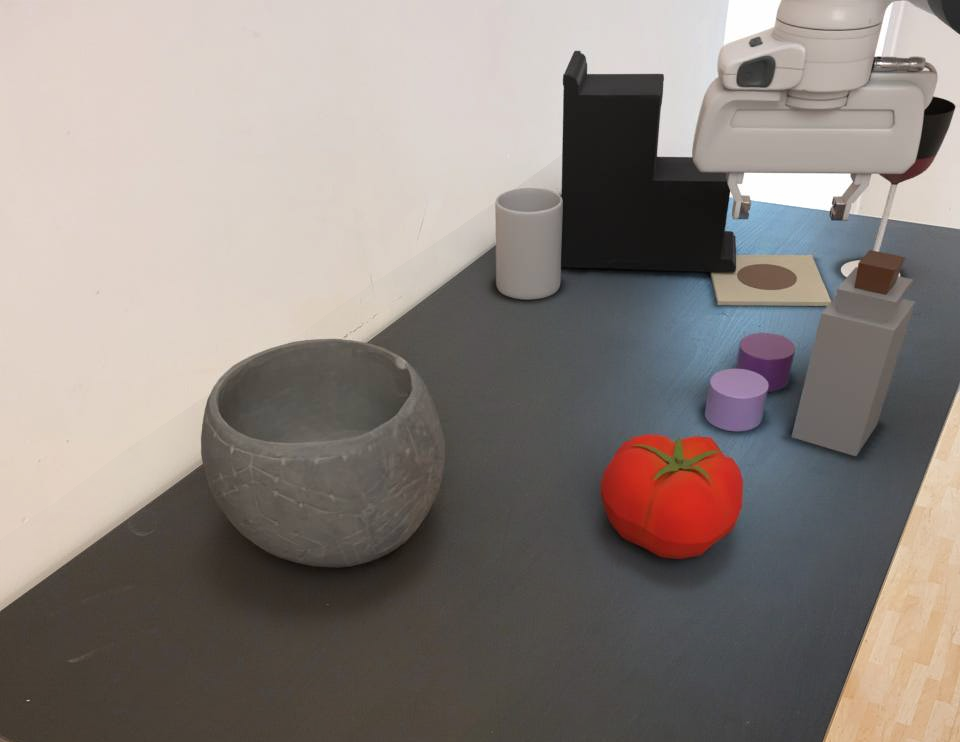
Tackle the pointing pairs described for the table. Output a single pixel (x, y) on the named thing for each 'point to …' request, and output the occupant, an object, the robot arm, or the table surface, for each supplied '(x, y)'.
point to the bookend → (634, 183)
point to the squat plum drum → (767, 358)
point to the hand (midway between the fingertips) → (788, 218)
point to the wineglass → (930, 143)
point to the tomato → (672, 494)
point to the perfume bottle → (855, 355)
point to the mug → (528, 243)
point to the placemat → (771, 282)
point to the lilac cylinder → (736, 399)
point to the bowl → (323, 450)
